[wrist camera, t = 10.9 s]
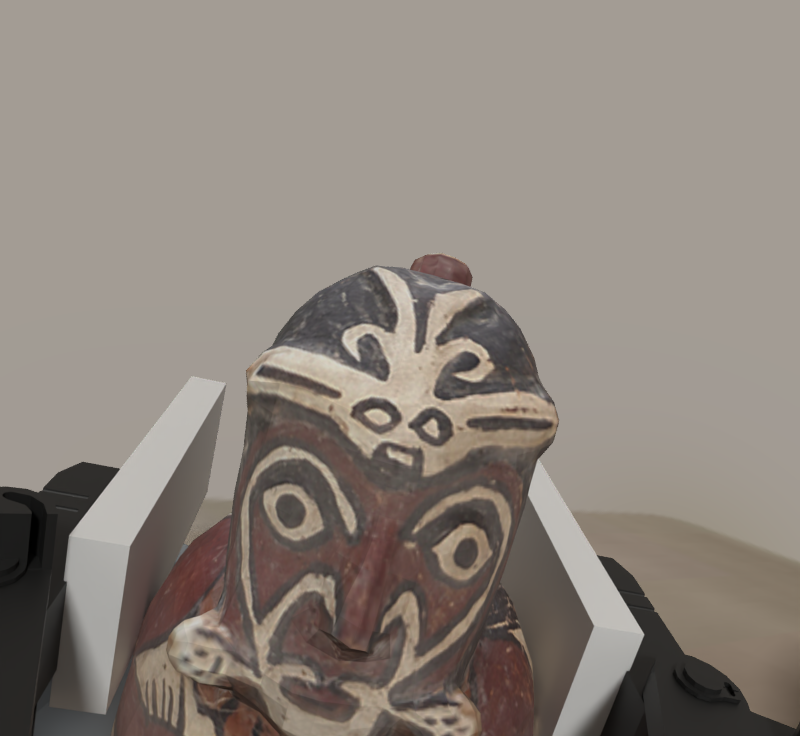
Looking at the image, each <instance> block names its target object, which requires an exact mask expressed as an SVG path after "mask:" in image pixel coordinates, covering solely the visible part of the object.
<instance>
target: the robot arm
mask: <svg viewBox="0 0 800 736" xmlns="http://www.w3.org/2000/svg"><path fill="white" fill-rule="evenodd" d="M225 388H226V383H222V382H218V381H213V380H208V379H203V378H198V377H193V376H192V377H191V378H190V379H189V381H188V382H187V383H186V385H185V386H184V387H183V388H182V390H181V391H180V392H179V394H178V395H177V396H176V397H175V399H174V400H173V401H172V403H171V404H170V405H169V407H168V408H167V409H166V410H165V412H164V413H163V415H162V416H161V417H160V418H159V420H158V421H157V422H156V423H155V425H154V426H153V427H152V429H151V430H150V431H149V433H148V434H147V435H146V436H145V438H144V439H143V440H142V442H141V443H140V444H139V445H138V447H137V448H136V449H135V451H134V452H133V453H132V455H131V456H130V457H129V459H128V460H127V461H126V462H125V464H124V465H123V466H122V468H121V469H119V468H113V467H107V466H102V465H96V464H91V463H86V462H81V463H79V464H77V465H74V466H72V467H70V468H68V469H65V470H63V471H61V472H58V473H57V474H56V475H55V476H54V477H53V478H52V479H51V480H50V481H49V483H48V484H47V485H46V486H45V487H44V488H43V491H40V492H39V493H37V492H34V491H31V490H28V489H22V488H13V487H0V736H33V735H34V728H35V719H36V709H37V702H38V701H39V699H40V697H41V696H42V694H43V692H44V691H45V689H46V687H47V686H48V684H49V682H50V680H51V679H52V686H51V695H50V703H49V707H54V708H62V709H69V710H76V711H83V712H90V713H97V714H104V715H106V712H107V710H108V708H109V706H110V704H111V701H112V699H113V697H114V695H115V693H116V690H117V688H118V686H119V684H120V682H121V680H122V677H123V675H124V673H125V671H126V669H127V666H128V664H129V662H130V660H131V658H132V655H133V653H134V651H135V646H136V641H137V638H138V635H139V632H140V628H141V625H142V621H143V619H144V617H145V614H146V612H147V610H148V607H149V605H150V603H151V601H152V600H153V598H154V597H155V595H156V594H157V592H158V591H159V589H160V588H161V586H162V585H163V583H164V581H165V580H166V578H167V577H168V575H169V574H170V572H171V570H172V568H173V566H174V563H175V561H176V559H177V557H178V555H179V552H180V550H181V548H182V546H183V544H184V541H185V539H186V537H187V535H188V533H189V530H190V528H191V526H192V524H193V522H194V519H195V517H196V515H197V513H198V511H199V508H200V506H201V504H202V502H203V500H204V498H205V495H206V493H207V490H208V484H209V478H210V473H211V467H212V461H213V456H214V450H215V444H216V439H217V433H218V428H219V422H220V416H221V410H222V405H223V400H224V394H225ZM500 583H501V584H502V586H503V587H504V589H505V591H506V592H507V594H508V595H509V597H510V599H511V600H512V602H513V604H514V607H515V611H516V614H517V617H518V620H519V623H520V626H521V630H522V633H523V636H524V639H525V642H526V645H527V648H528V652H529V655H530V658H531V661H532V667H533V683H534V728H533V736H800V723H799V725H798V727H797V729H794V728H792V727H789V726H787V725H784V724H781V723H779V722H776V721H774V720H771V719H769V718H766V717H763V716H761V715H758V714H756V713H753V712H751V711H750V709H749V706H748V703H747V701H746V699H745V698H744V696H743V694H742V693H741V691H740V689H739V688H738V687H737V686H736V685H735V684H734V683H733V682H732V681H731V680H730V679H729V678H728V677H727V676H726V675H724V674H723V673H721V672H720V671H718V670H717V669H715V668H714V667H713V666H711V665H709V664H707V663H705V662H703V661H701V660H699V659H697V658H695V657H692V656H688V655H685V654H684V653H683V651H682V650H681V648H680V647H679V645H678V644H677V642H676V641H675V639H674V637H673V636H672V634H671V633H670V631H669V630H668V628H667V627H666V625H665V624H664V622H663V621H662V619H661V618H660V616H659V615H658V613H657V612H654V607H653V606H652V604H651V603H650V601H649V600H648V598H647V597H644V595H645V594H644V592H643V591H642V589H641V587H640V586H639V584H638V583H637V581H636V580H635V578H634V577H633V576H632V575H631V574H630V573H629V572H628V571H627V570H626V569H624V568H623V567H622V566H621V565H620V564H619V563H617V562H616V561H615V560H614V559H613V558H608V557H603V556H598V555H596V554H595V552H594V550H593V549H592V547H591V545H590V544H589V542H588V540H587V539H586V537H585V535H584V534H583V532H582V530H581V529H580V527H579V525H578V524H577V522H576V520H575V519H574V517H573V515H572V514H571V512H570V510H569V509H568V507H567V505H566V504H565V502H564V500H563V499H562V497H561V495H560V494H559V492H558V491H557V489H556V487H555V485H554V484H553V482H552V480H551V479H550V477H549V475H548V474H547V472H546V470H545V469H544V467H543V466H542V464H541V462H540V461H539V459H538V460H537V464H536V467H535V470H534V474H533V477H532V480H531V484H530V488H529V492H528V496H527V501H526V505H525V508H524V511H523V514H522V517H521V520H520V523H519V526H518V529H517V532H516V535H515V538H514V542H513V545H512V548H511V551H510V554H509V557H508V561H507V564H506V567H505V570H504V573H503V575H502V578H501V581H500Z"/></svg>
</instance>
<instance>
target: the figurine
mask: <svg viewBox="0 0 800 736" xmlns="http://www.w3.org/2000/svg"><path fill="white" fill-rule="evenodd" d="M471 282H472V275H471V273H470V270H469V268H468V267H467V265H466V264H465V263H463V262H461V261H460V260H458V259H456V258H454V257H452V256H449V255H446V254H443V253H434V254H428V255H425V256H423V257H420V258H418V259H416V260H415V261H414V263H413V264H412V266H411V269H410V270H409V269H405V268H398V267H383V266H374V267H371V268H368V269H365V270H363V271H360V272H357V273H355V274H353V275H351V276H349V277H347V278H344V279H342V280H340V281H338V282H336V283H334V284H333V285H331V286H329V287H327V288H325V289H323V290H321V291H319V292H318V293H317V294H315V295H314V296H313V297H312V298H311V299H310V300H309V301H307V302H306V303H305V304H304V305H303V306H302V307H300V308H299V309H298V310H297V311H296V312H295V313H294V315H293V316H292V317H291V318H290V320H289V321H288V322H287V323H286V325H285V326H284V327H283V328H282V330H281V331H280V332H279V334H278V336H277V338H276V340H275V342H274V343H273V346H271V347H270V348H269V349H267V350H266V351H264V352H262V354H261V355H260V356H259V357H258V358H257V359H256V360H255V361H254V362H253V363H252V365H251V366H250V367H249V368H248V369H247V370H246V377H247V407H248V413H247V422H246V431H245V440H244V449H243V453H242V459H241V463H240V468H239V473H238V478H237V482H236V487H235V493H234V500H233V507H232V512H231V513H230V514H229V515H227V516H226V517H225V518H223V519H222V520H221V521H220V522H218V523H217V524H216V525H214V526H213V527H212V528H210V529H209V530H207V531H206V532H205V533H203V534H202V535H200V536H199V537H197V538H196V539H195V540H194V541H193V542H192V543H191V544H190V545H189V546H188V548H187V549H186V550H185V551H184V552H183V554H182V555H181V556H180V557H179V559H178V561H177V562H176V564H175V565H174V567H173V569H172V570H171V572H170V574H169V575H168V577H167V578H166V580H165V581H164V583H163V585H162V586H161V588H160V589H159V591H158V592H157V594H156V595H155V597H154V598H153V600H152V601H151V603H150V605H149V607H148V610H147V612H146V614H145V617H144V619H143V621H142V625H141V628H140V632H139V635H138V638H137V641H136V646H135V651H134V653H133V658H132V662H131V667H130V670H129V673H128V676H127V680H126V683H125V686H124V689H123V692H122V695H121V699H120V703H119V706H118V710H117V713H116V717H115V720H114V724H113V727H112V732H111V736H533V728H534V683H533V667H532V661H531V658H530V655H529V652H528V648H527V645H526V642H525V639H524V636H523V633H522V630H521V626H520V623H519V620H518V617H517V614H516V611H515V607H514V604H513V602H512V600H511V599H510V597H509V595H508V594H507V592H506V591H505V589H504V587H503V586H502V584H501V583H500V581H501V578H502V575H503V573H504V570H505V567H506V564H507V561H508V557H509V554H510V551H511V548H512V545H513V542H514V538H515V535H516V532H517V529H518V526H519V523H520V520H521V517H522V514H523V511H524V508H525V505H526V501H527V496H528V492H529V488H530V484H531V480H532V477H533V474H534V470H535V467H536V464H537V460H538V459H539V457H540V456H541V455H542V454H543V453H544V452H545V451H546V450H547V448H548V447H549V446H550V445H551V444H552V443H553V441H554V437H555V434H556V431H557V427H558V424H559V419H558V415H557V412H556V408H555V404H554V402H553V400H552V399H551V397H550V396H549V394H548V393H547V391H546V390H545V388H544V387H543V385H542V383H541V381H540V379H539V376H538V372H537V368H536V364H535V360H534V357H533V355H532V352H531V350H530V348H529V346H528V344H527V342H526V340H525V338H524V335H523V334H522V331H521V329H520V328H519V327H518V325H517V324H516V323H515V321H514V320H513V319H512V318H511V316H510V315H509V314H508V313H507V311H506V310H505V309H504V308H502V307H501V306H500V305H499V304H498V303H497V302H495V301H494V300H493V299H492V298H491V297H489V296H488V295H487V294H486V293H485V292H482V291H479V290H476V289H474V288H472V287H470V286H471Z"/></svg>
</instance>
